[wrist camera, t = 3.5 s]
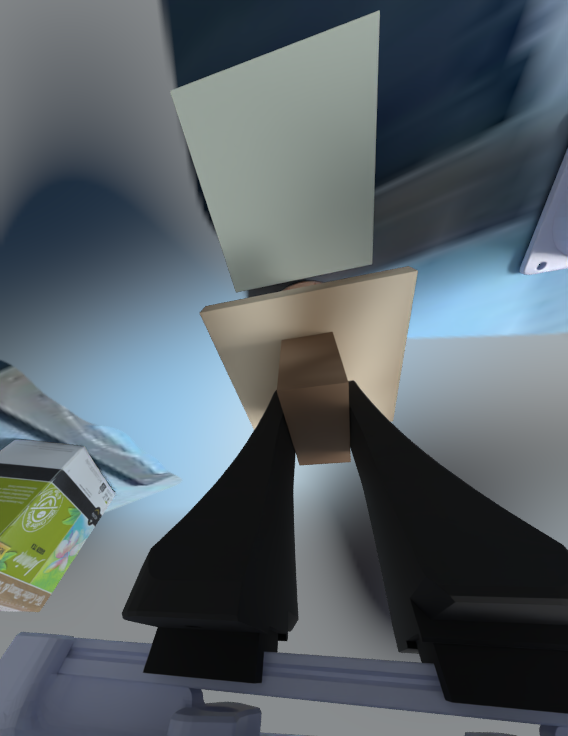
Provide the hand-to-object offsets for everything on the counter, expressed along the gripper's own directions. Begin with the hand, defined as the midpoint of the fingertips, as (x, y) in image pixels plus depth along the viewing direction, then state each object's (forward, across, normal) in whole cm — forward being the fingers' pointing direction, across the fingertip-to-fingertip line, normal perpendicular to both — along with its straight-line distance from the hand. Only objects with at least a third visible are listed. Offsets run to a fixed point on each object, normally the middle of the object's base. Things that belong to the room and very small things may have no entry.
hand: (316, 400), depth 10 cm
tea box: (+10, +41, +18) cm, 46 cm away
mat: (+9, 0, -9) cm, 13 cm away
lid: (+2, 0, 0) cm, 2 cm away
